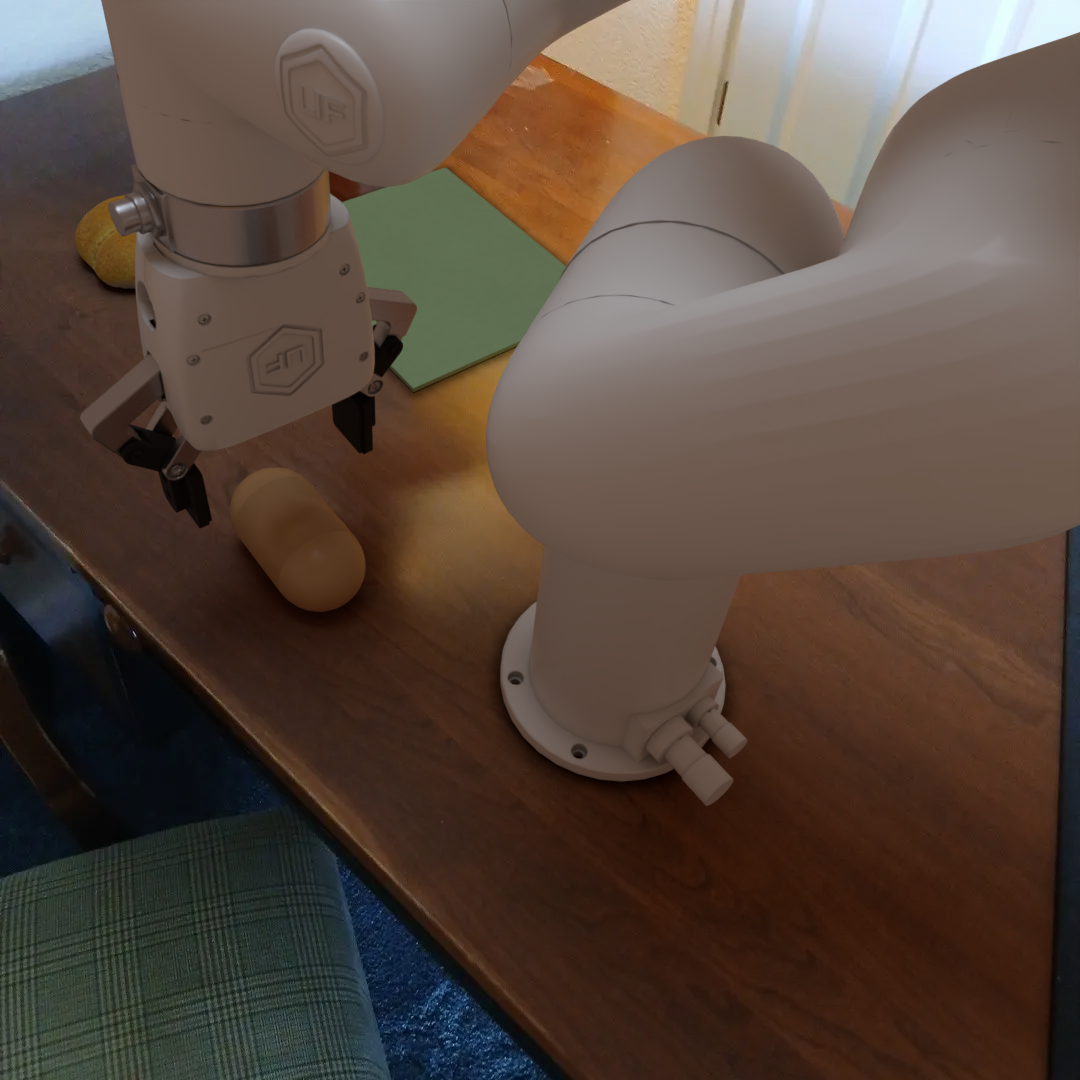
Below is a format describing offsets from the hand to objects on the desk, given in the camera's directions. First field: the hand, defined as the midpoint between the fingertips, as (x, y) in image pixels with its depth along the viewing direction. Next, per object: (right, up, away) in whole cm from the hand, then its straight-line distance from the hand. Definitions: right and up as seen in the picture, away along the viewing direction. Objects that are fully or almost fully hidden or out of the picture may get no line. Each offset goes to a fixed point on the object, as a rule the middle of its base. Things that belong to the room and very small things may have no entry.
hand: (275, 472), depth 57 cm
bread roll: (-16, +18, +24) cm, 34 cm away
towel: (+6, +18, +25) cm, 31 cm away
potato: (0, -5, +6) cm, 8 cm away
